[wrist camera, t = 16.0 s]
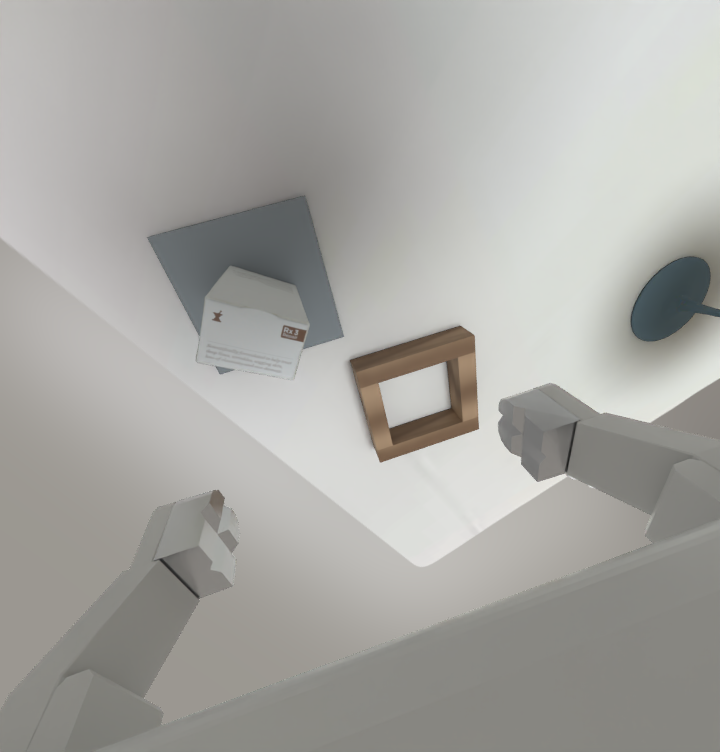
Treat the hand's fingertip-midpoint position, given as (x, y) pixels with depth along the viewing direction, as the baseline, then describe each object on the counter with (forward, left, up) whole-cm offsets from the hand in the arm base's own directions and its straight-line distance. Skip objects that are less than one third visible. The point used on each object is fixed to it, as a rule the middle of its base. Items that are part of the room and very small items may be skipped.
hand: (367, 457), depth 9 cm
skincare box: (0, -4, -24) cm, 24 cm away
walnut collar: (+16, +8, -24) cm, 30 cm away
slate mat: (0, -5, -24) cm, 25 cm away
